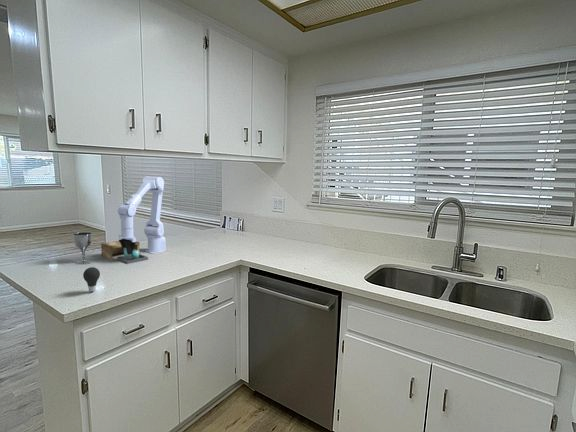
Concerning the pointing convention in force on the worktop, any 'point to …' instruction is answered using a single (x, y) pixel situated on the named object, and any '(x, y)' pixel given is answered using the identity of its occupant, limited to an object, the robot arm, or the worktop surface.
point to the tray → (129, 259)
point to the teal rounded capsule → (126, 253)
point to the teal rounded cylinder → (135, 254)
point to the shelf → (114, 248)
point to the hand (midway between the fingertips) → (127, 253)
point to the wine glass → (82, 244)
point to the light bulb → (91, 277)
